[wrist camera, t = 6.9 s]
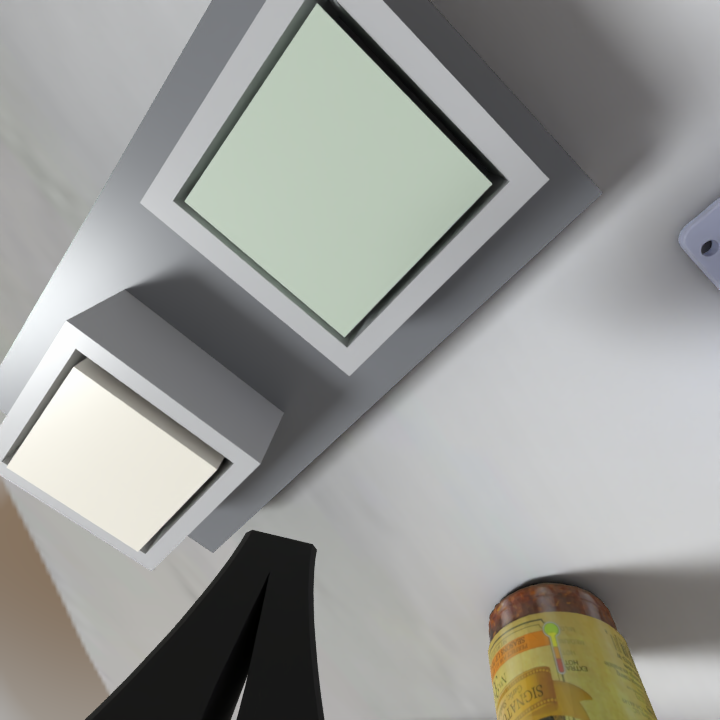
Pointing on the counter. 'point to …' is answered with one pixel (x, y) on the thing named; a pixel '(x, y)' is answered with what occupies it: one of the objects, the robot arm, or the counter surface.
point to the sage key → (335, 177)
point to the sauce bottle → (561, 659)
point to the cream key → (113, 456)
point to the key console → (254, 284)
